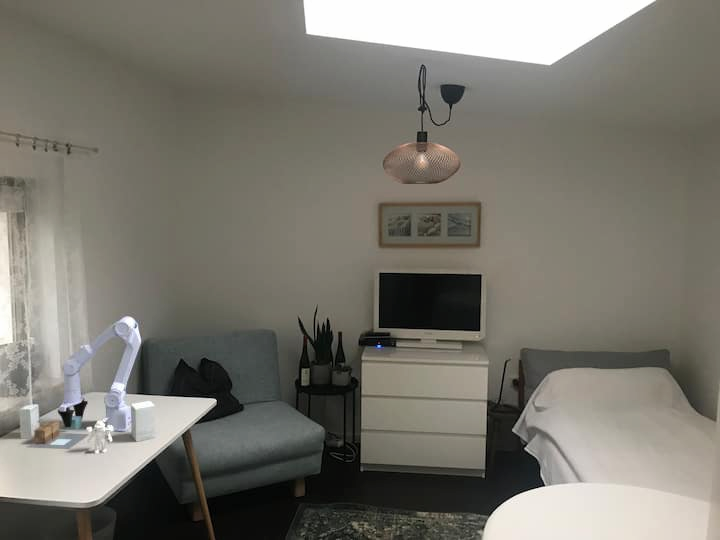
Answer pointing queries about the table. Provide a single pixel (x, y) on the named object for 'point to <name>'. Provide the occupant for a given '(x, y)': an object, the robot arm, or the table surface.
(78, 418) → the teal block
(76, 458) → the table surface
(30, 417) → the skincare box
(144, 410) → the supplement box
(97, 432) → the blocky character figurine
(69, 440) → the baseplate
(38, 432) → the walnut blocks
